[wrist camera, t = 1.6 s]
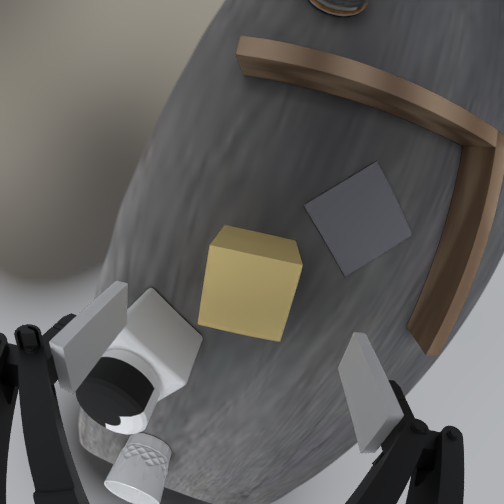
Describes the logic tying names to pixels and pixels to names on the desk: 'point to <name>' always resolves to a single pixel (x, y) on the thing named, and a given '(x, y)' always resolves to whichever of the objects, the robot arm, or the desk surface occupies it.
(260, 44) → the angled wooden barrier
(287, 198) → the desk surface
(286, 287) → the cube
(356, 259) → the mat
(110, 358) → the medicine bottle
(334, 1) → the pill bottle
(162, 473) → the white cup
